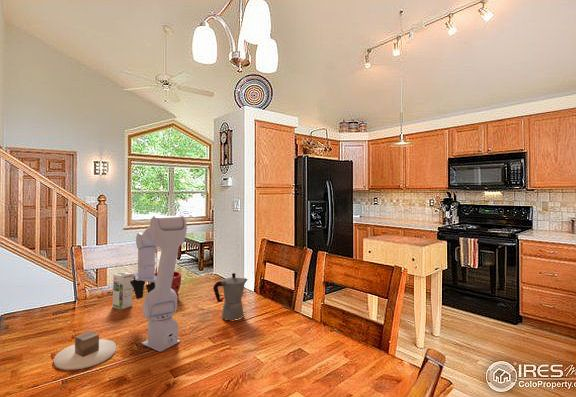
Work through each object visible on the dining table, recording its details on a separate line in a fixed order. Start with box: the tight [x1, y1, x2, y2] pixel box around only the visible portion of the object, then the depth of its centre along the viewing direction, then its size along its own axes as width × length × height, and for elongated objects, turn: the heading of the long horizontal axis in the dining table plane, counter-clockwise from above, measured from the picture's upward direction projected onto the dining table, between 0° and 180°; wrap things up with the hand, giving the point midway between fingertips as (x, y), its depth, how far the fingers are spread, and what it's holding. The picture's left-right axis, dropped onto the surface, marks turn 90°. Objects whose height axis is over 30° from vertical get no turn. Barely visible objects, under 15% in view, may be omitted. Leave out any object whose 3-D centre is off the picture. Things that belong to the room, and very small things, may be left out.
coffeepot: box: [213, 272, 249, 320], centre depth 126 cm, size 15×9×18 cm, turn 129°
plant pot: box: [154, 270, 182, 299], centre depth 144 cm, size 13×13×12 cm
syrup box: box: [112, 271, 134, 311], centre depth 134 cm, size 6×6×14 cm
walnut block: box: [74, 330, 100, 357], centre depth 95 cm, size 5×5×5 cm
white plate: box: [53, 338, 117, 371], centre depth 95 cm, size 16×16×1 cm
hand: (145, 300), depth 117 cm, fingers open, 7 cm apart
